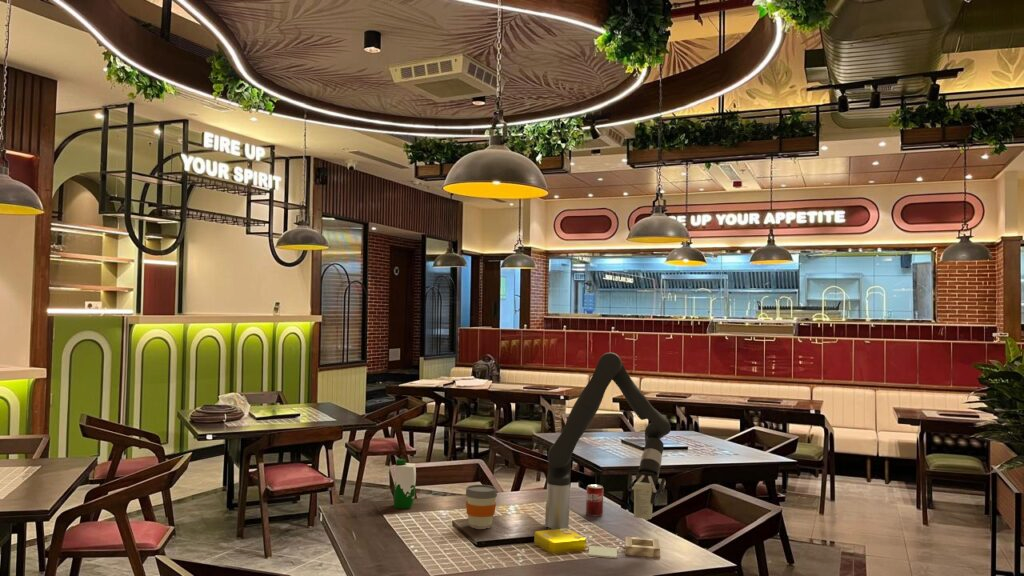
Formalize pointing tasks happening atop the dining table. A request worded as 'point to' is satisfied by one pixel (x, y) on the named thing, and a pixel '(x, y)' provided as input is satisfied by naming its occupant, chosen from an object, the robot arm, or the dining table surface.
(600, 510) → the soda can
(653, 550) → the pocket block
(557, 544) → the element tile
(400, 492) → the milk carton
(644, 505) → the skincare box
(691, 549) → the dining table surface
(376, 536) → the dining table surface
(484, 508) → the reusable coffee cup
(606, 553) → the coaster
